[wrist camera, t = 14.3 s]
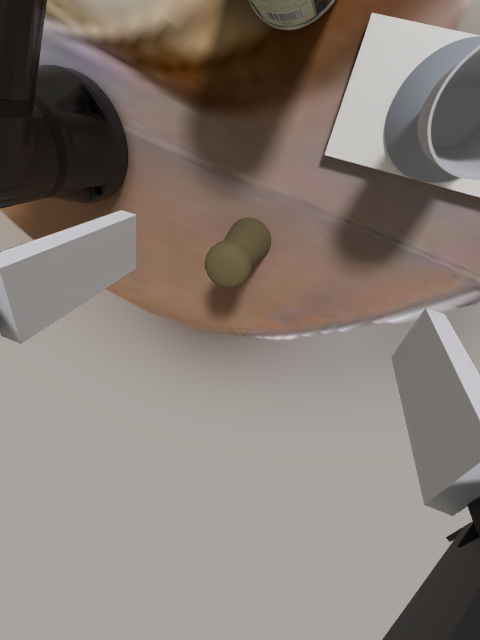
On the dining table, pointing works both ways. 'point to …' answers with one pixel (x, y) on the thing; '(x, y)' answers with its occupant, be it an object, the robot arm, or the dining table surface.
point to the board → (397, 99)
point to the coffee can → (290, 12)
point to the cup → (454, 120)
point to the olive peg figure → (238, 253)
